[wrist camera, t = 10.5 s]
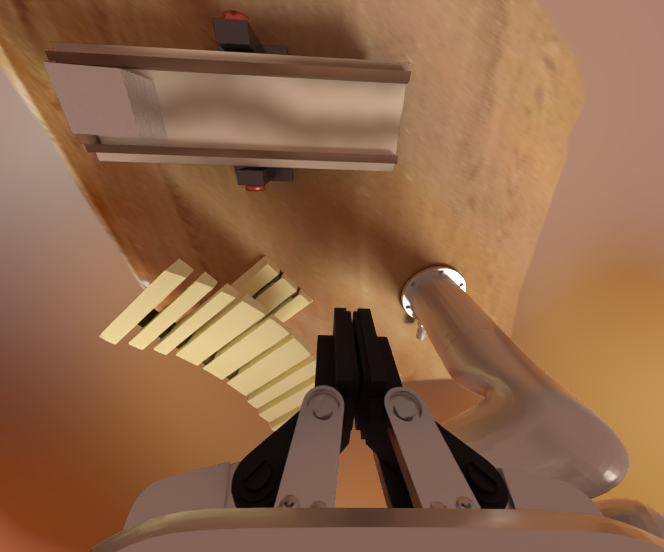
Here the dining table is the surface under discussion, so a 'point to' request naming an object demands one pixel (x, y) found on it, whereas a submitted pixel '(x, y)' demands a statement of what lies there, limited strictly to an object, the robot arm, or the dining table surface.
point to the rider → (107, 101)
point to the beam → (256, 107)
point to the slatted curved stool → (230, 333)
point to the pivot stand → (241, 38)
